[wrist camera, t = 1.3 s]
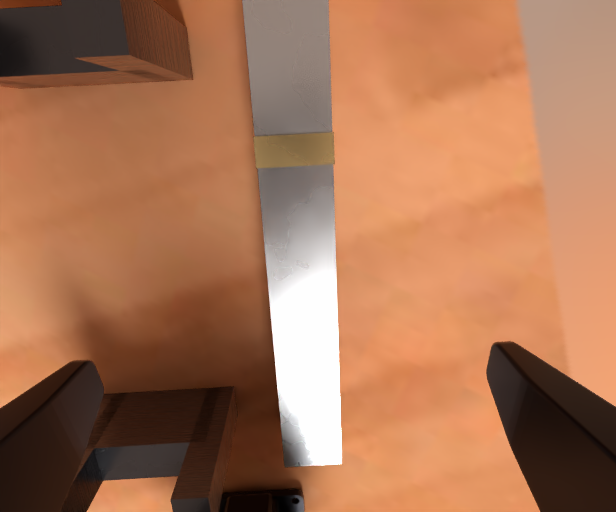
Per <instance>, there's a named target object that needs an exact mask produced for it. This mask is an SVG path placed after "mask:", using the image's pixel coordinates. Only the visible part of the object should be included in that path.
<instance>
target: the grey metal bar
mask: <svg viewBox="0 0 616 512" xmlns="http://www.w3.org/2000/svg"><path fill="white" fill-rule="evenodd" d="M242 3H243V14H244V25H245V36H246V47H247V58H248V69H249V80H250V91H251V102H252V113H253V124H254V135H255V136H254V137H253V140H254V151H255V162H256V168H258V179H259V190H260V201H261V212H262V223H263V235H264V246H265V257H266V268H267V279H268V290H269V301H270V312H271V323H272V334H273V345H274V356H275V367H276V378H277V389H278V400H279V411H280V422H281V433H282V444H283V455H284V466H285V467H298V466H314V465H330V464H342V453H341V418H340V384H339V349H338V314H337V280H336V245H335V210H334V176H333V164H335V163H334V132H332V107H331V72H330V37H329V3H328V0H242Z"/></svg>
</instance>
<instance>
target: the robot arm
mask: <svg viewBox="0 0 616 512" xmlns="http://www.w3.org/2000/svg"><path fill="white" fill-rule="evenodd" d="M486 374H487V380H488V383H489V386H490V389H491V392H492V395H493V398H494V401H495V404H496V406H497V409H498V412H499V415H500V418H501V421H502V424H503V427H504V430H505V433H506V436H507V438H508V441H509V444H510V446H511V449H512V451H513V453H514V456H515V458H516V460H517V462H518V464H519V466H520V469H521V471H522V473H523V475H524V477H525V479H526V482H527V484H528V486H529V488H530V490H531V492H532V494H533V497H534V499H535V501H536V503H537V505H538V507H539V510H540V512H616V407H615V406H614V405H612V404H610V403H609V402H607V401H606V400H604V399H603V398H601V397H599V396H598V395H596V394H595V393H593V392H592V391H590V390H588V389H587V388H585V387H584V386H582V385H581V384H579V383H578V382H576V381H574V380H573V379H571V378H570V377H568V376H567V375H565V374H563V373H562V372H560V371H559V370H557V369H556V368H554V367H552V366H551V365H549V364H548V363H546V362H545V361H543V360H541V359H540V358H538V357H537V356H535V355H534V354H532V353H530V352H529V351H527V350H526V349H524V348H523V347H521V346H520V345H518V344H516V343H514V342H511V341H508V342H495V343H494V344H493V345H492V347H491V351H490V356H489V360H488V365H487V370H486ZM103 394H104V387H103V384H102V381H101V379H100V376H99V374H98V371H97V369H96V366H95V364H94V363H93V362H92V361H91V360H75V361H71V362H70V363H68V364H66V365H65V366H63V367H62V368H60V369H59V370H57V371H56V372H54V373H53V374H51V375H50V376H48V377H47V378H45V379H44V380H42V381H41V382H39V383H38V384H36V385H35V386H33V387H32V388H30V389H29V390H27V391H26V392H24V393H23V394H21V395H20V396H18V397H17V398H15V399H14V400H12V401H11V402H9V403H8V404H6V405H5V406H3V407H2V408H0V512H60V510H61V508H62V505H63V503H64V501H65V499H66V496H67V494H68V492H69V490H70V487H71V485H72V483H73V481H74V478H75V476H76V474H77V471H78V469H79V466H80V464H81V462H82V459H83V456H84V453H85V451H86V447H87V444H88V441H89V438H90V435H91V432H92V429H93V426H94V423H95V420H96V417H97V414H98V411H99V408H100V405H101V401H102V398H103ZM219 512H305V509H304V495H303V492H302V491H300V490H298V489H291V490H275V491H259V492H243V493H227V494H222V497H221V502H220V508H219Z"/></svg>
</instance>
